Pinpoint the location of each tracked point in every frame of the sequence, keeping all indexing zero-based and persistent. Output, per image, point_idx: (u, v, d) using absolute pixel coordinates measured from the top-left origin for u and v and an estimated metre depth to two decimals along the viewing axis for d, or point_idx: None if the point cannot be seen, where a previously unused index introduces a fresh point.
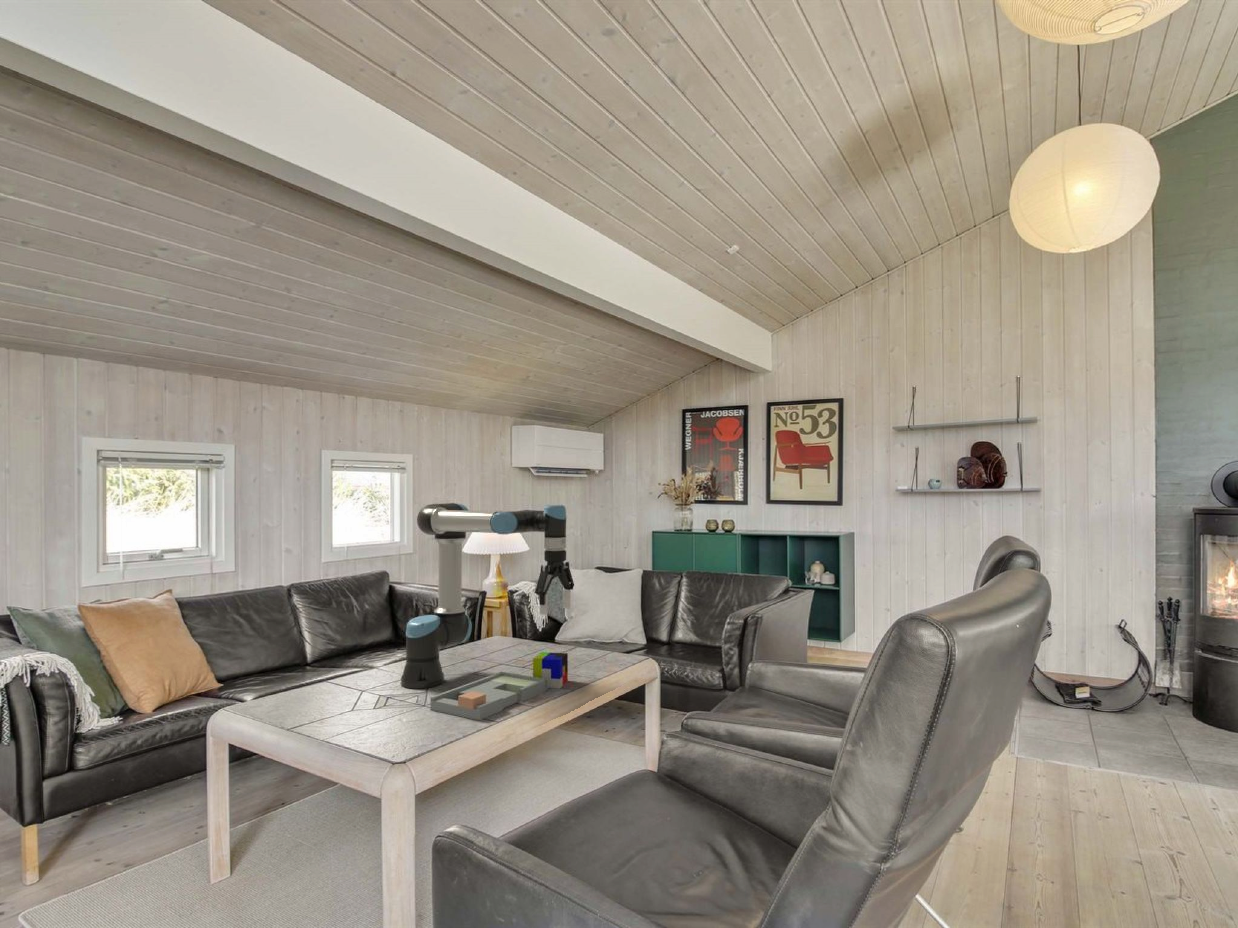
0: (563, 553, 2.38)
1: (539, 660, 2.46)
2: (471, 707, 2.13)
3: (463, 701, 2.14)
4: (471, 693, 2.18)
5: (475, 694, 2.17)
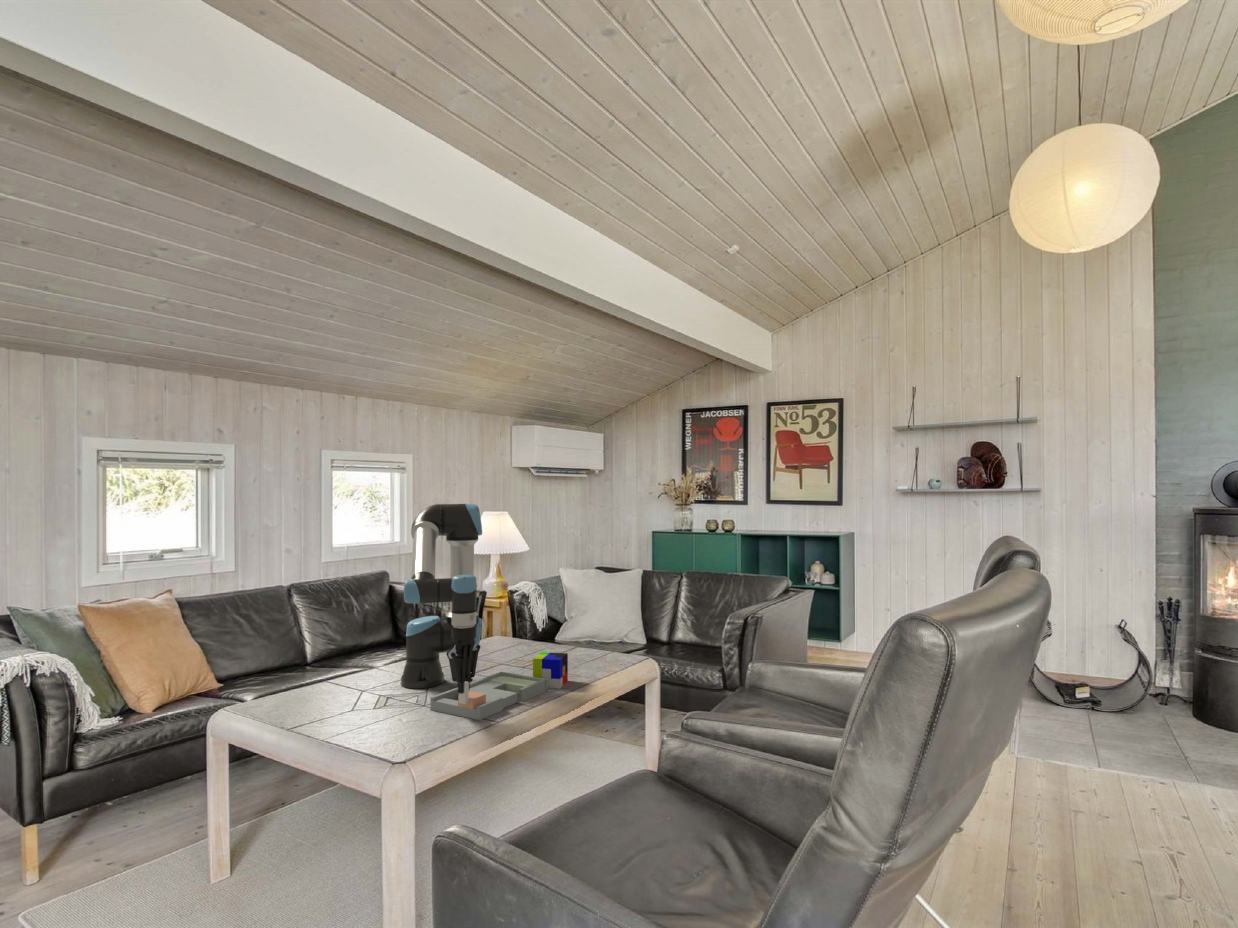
0: (472, 630, 2.12)
1: (539, 660, 2.46)
2: (471, 707, 2.13)
3: None
4: (471, 693, 2.18)
5: (475, 694, 2.17)
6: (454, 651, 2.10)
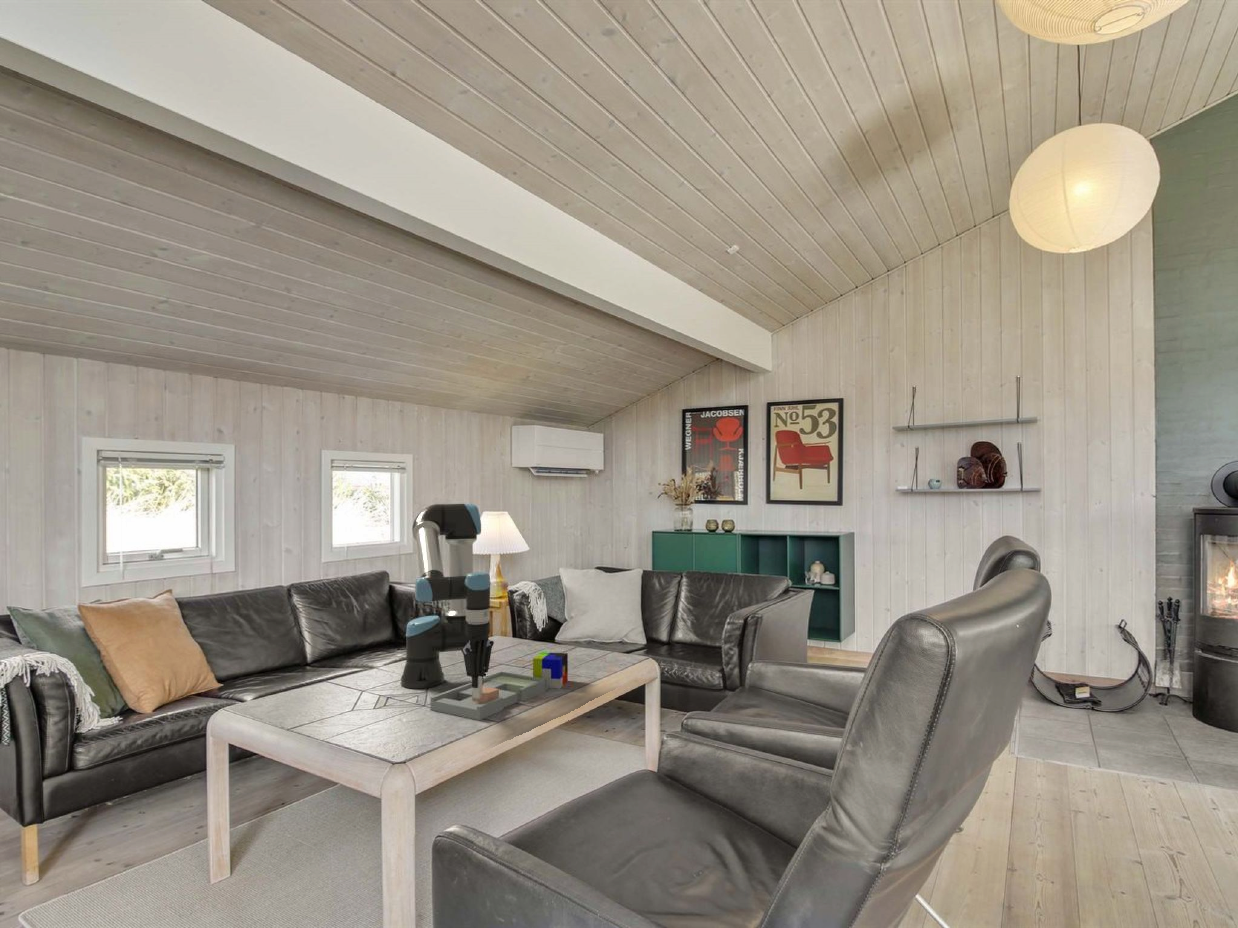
0: (486, 627, 2.17)
1: (539, 660, 2.46)
2: (485, 702, 2.18)
3: None
4: (485, 688, 2.24)
5: (489, 689, 2.22)
6: (468, 646, 2.15)
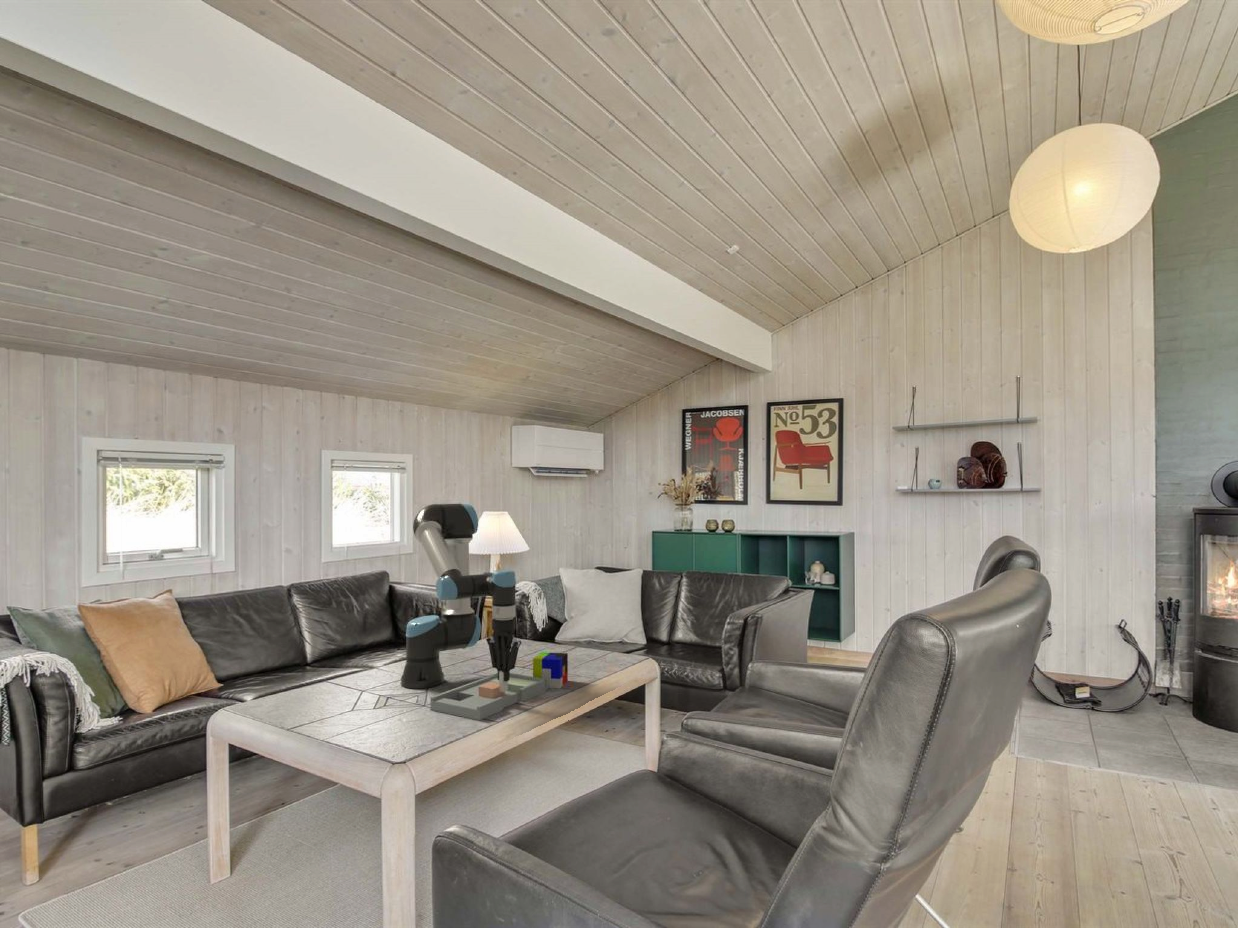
0: (495, 623, 2.24)
1: (539, 660, 2.46)
2: (491, 697, 2.23)
3: (484, 691, 2.25)
4: (491, 683, 2.29)
5: (495, 685, 2.28)
6: (491, 637, 2.29)
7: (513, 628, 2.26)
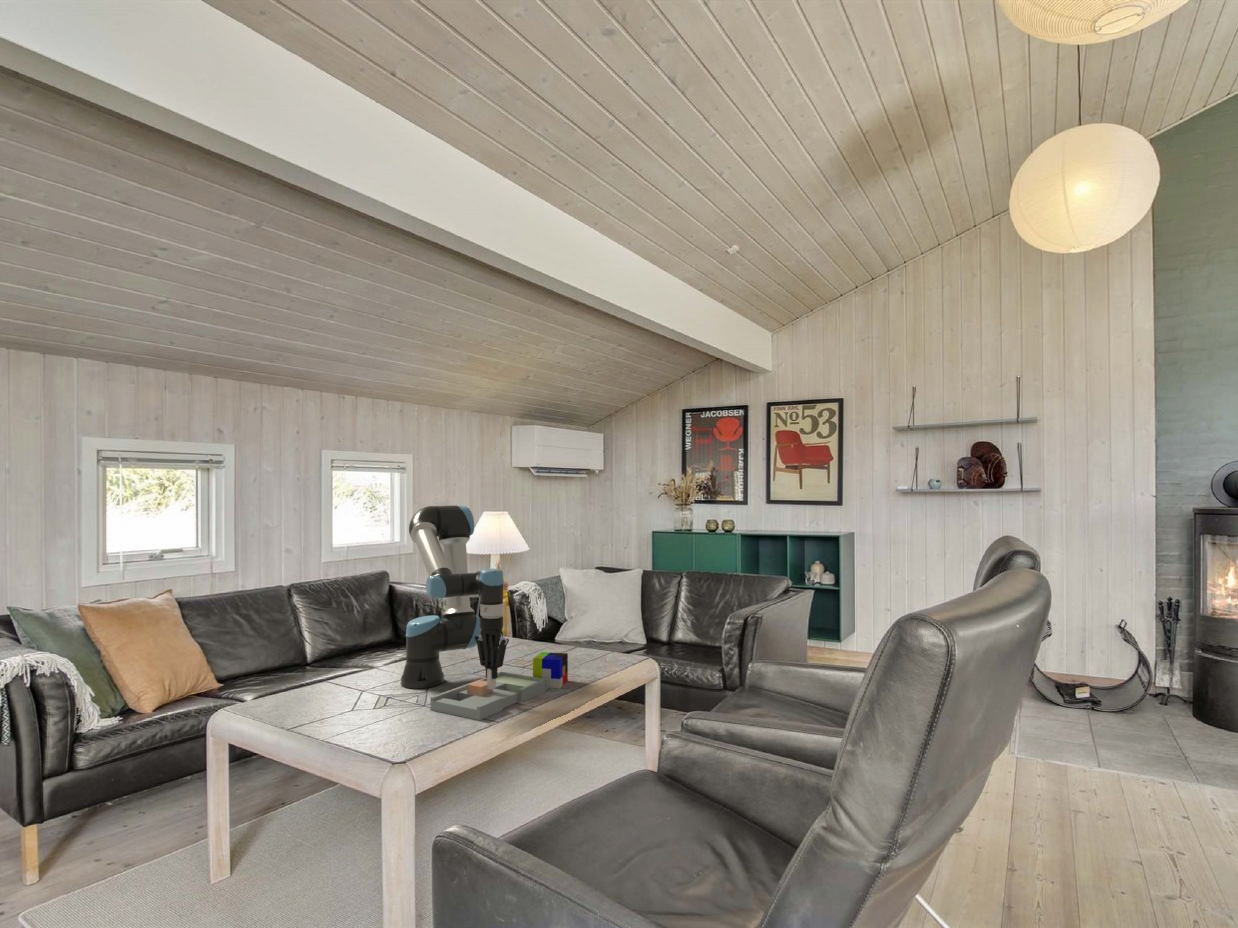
0: (483, 621, 2.27)
1: (539, 660, 2.46)
2: (479, 694, 2.26)
3: (472, 689, 2.27)
4: (479, 681, 2.31)
5: (483, 682, 2.30)
6: (479, 636, 2.31)
7: (501, 626, 2.28)
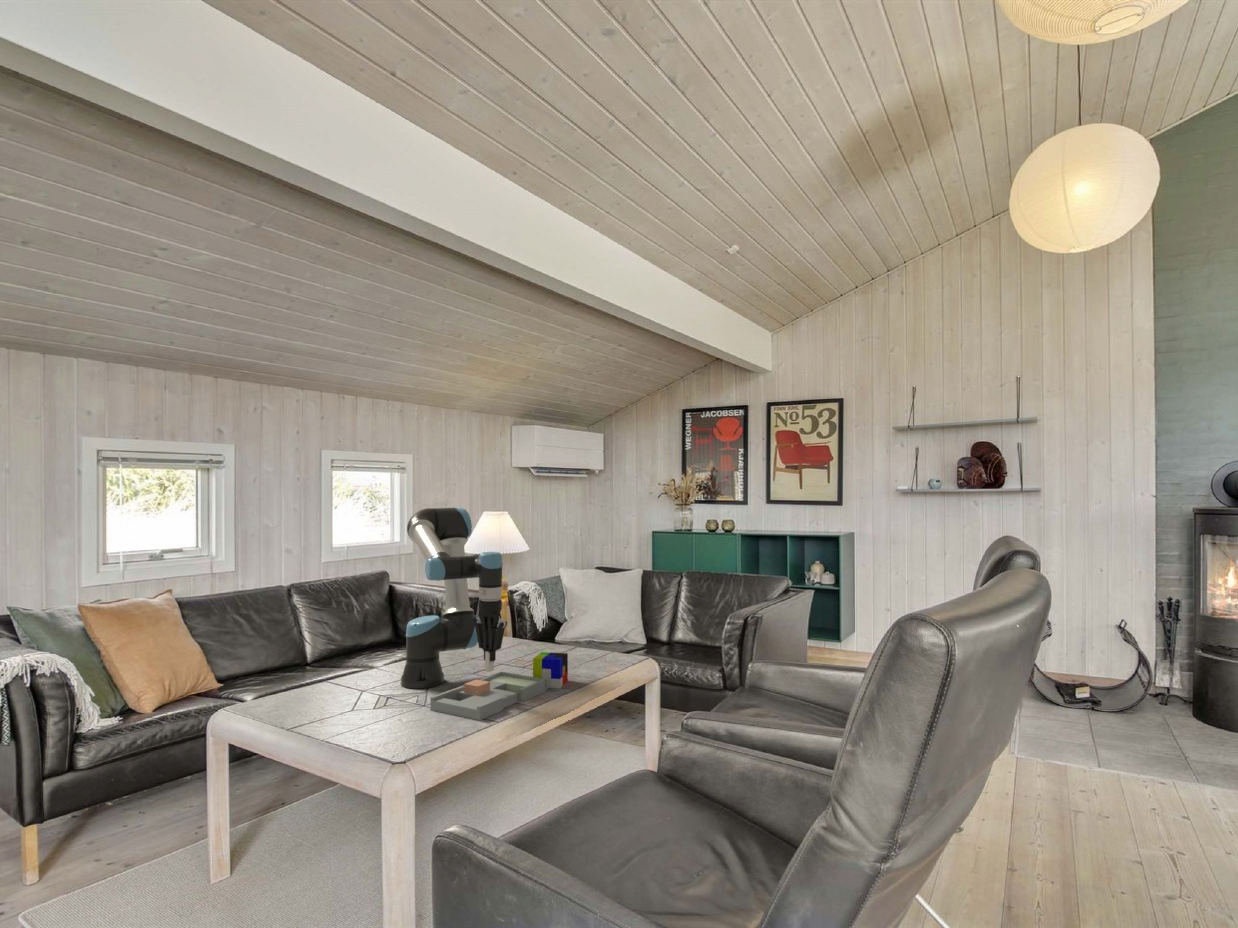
0: (481, 604, 2.27)
1: (539, 660, 2.46)
2: (476, 694, 2.26)
3: (469, 689, 2.28)
4: (476, 681, 2.32)
5: (480, 682, 2.31)
6: (478, 618, 2.32)
7: (499, 609, 2.29)
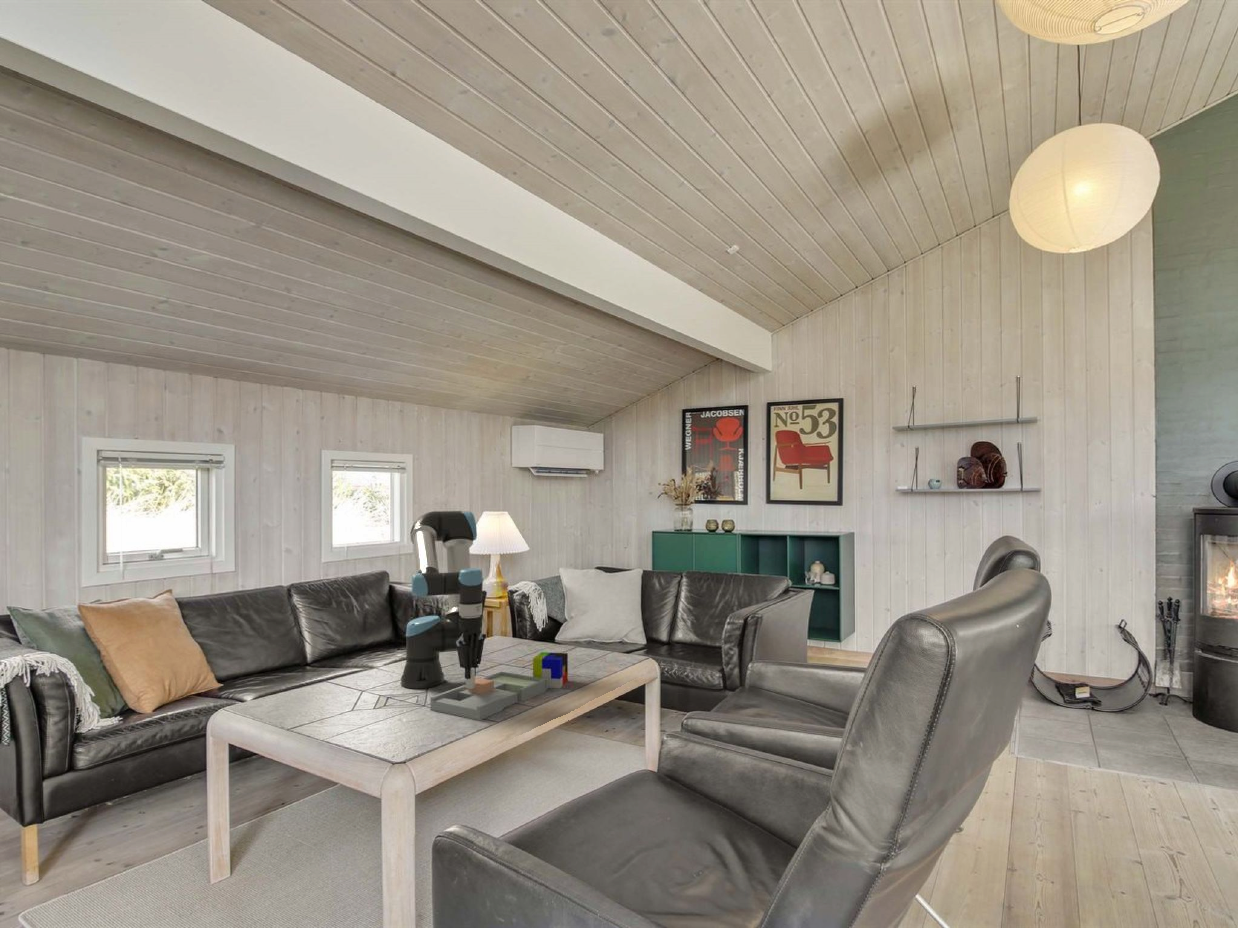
0: (478, 620, 2.28)
1: (539, 660, 2.46)
2: (480, 692, 2.28)
3: None
4: (480, 679, 2.34)
5: (484, 681, 2.32)
6: (461, 639, 2.26)
7: None
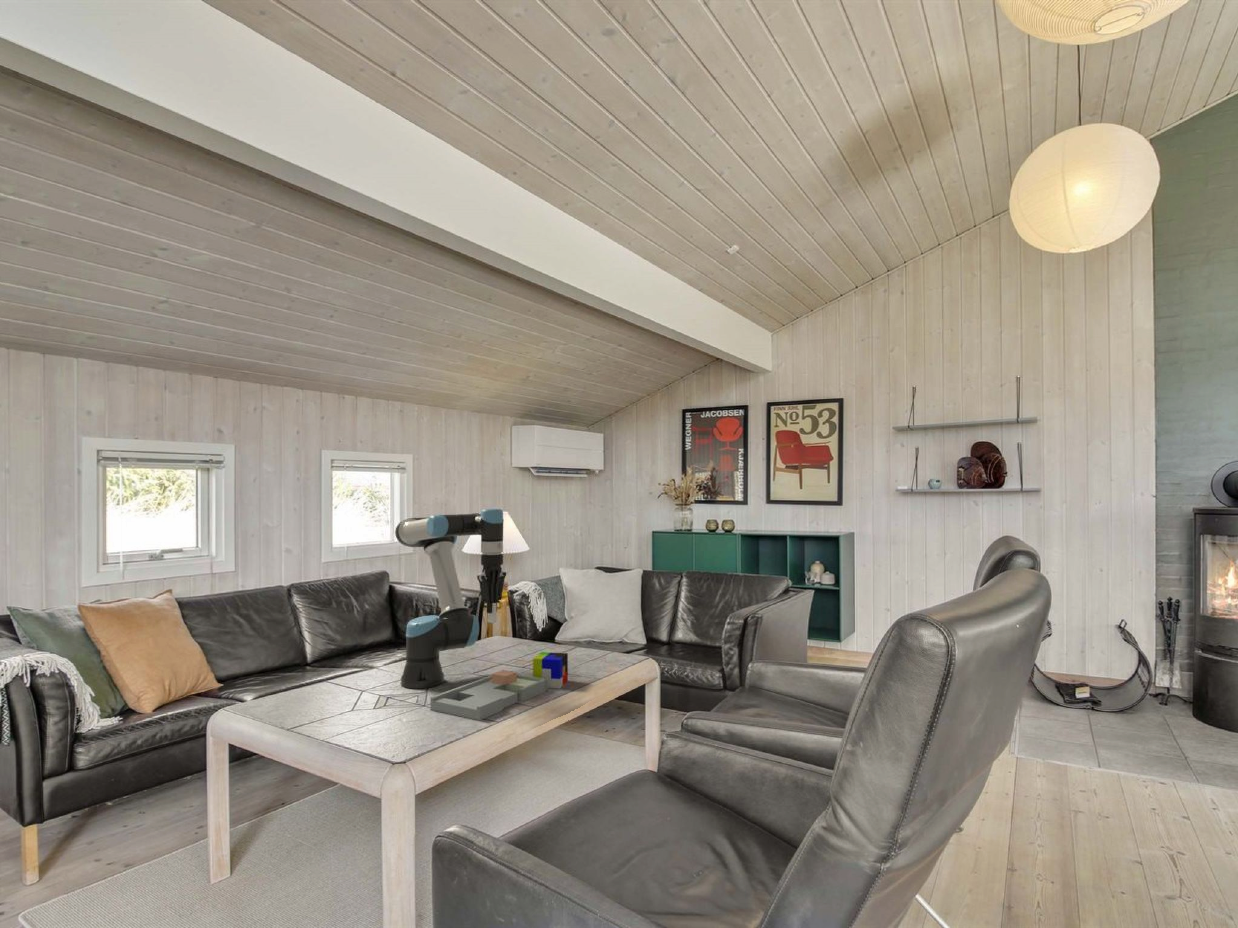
0: (499, 557, 2.38)
1: (539, 660, 2.46)
2: (503, 683, 2.39)
3: (496, 678, 2.40)
4: (503, 671, 2.44)
5: (507, 672, 2.43)
6: (484, 575, 2.35)
7: None
